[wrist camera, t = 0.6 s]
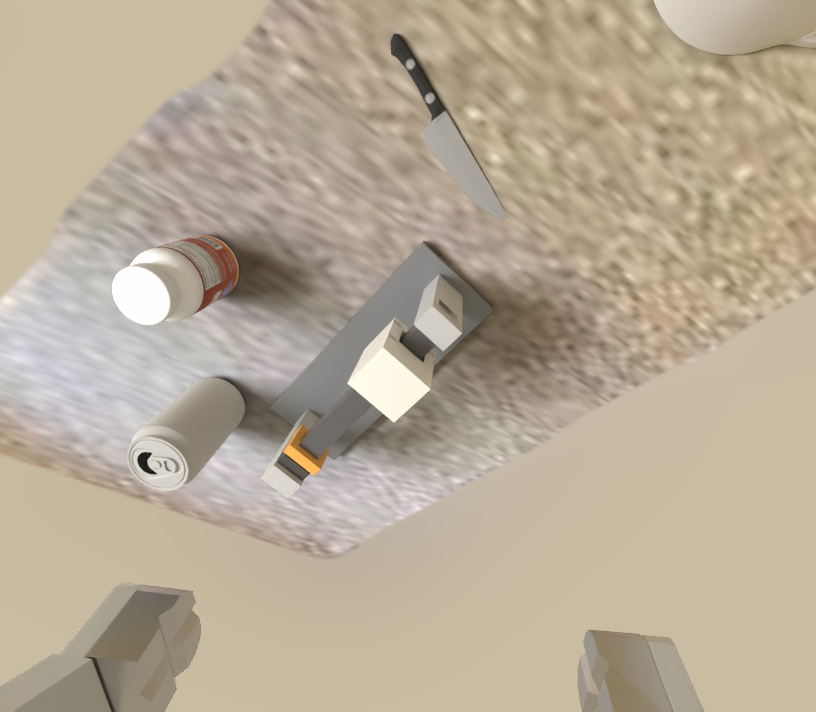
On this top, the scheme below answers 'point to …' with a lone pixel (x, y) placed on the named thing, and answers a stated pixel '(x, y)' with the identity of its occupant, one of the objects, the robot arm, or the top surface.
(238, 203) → the top surface
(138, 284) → the pill bottle
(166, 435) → the beverage can
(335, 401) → the grey slider rail base
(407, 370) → the cream sliding block
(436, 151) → the chef's knife
